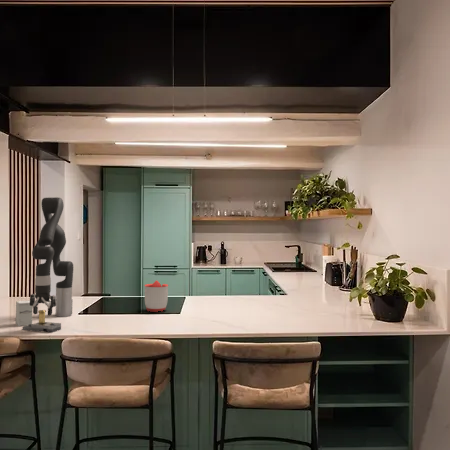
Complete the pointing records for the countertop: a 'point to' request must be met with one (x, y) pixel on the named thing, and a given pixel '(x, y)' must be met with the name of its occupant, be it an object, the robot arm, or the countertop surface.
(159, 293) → the citrus juicer
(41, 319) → the pin
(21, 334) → the countertop surface
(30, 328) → the chain end lower
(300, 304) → the countertop surface
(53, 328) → the chain end upper
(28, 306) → the supplement box
